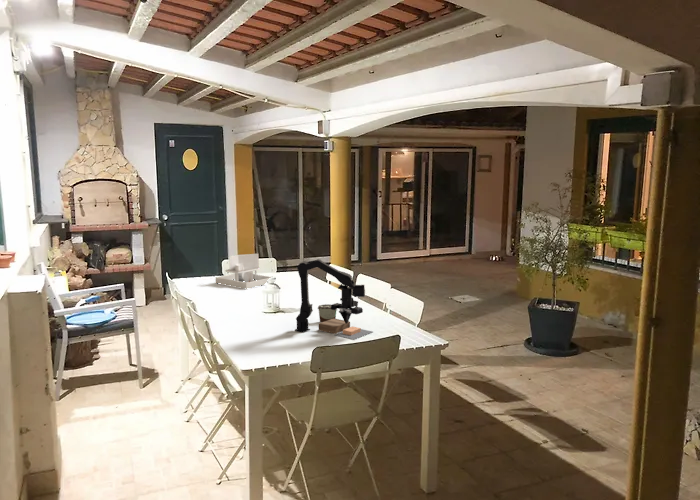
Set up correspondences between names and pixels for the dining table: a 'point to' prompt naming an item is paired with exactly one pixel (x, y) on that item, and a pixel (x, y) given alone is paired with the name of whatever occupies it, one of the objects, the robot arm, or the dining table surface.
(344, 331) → the peach block
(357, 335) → the mat
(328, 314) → the food container
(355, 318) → the dining table surface
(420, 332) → the dining table surface
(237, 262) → the architectural model
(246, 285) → the holder corral
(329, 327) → the brown flat block
